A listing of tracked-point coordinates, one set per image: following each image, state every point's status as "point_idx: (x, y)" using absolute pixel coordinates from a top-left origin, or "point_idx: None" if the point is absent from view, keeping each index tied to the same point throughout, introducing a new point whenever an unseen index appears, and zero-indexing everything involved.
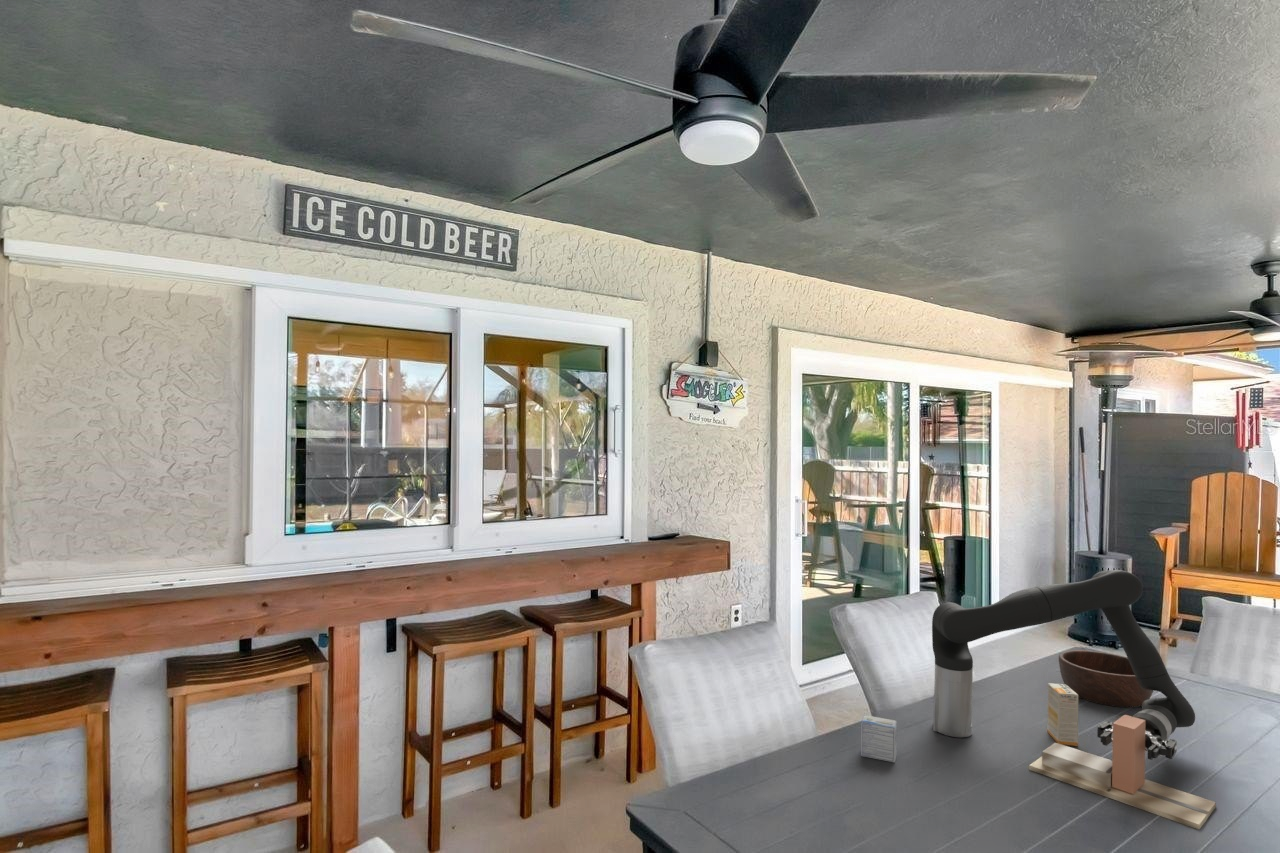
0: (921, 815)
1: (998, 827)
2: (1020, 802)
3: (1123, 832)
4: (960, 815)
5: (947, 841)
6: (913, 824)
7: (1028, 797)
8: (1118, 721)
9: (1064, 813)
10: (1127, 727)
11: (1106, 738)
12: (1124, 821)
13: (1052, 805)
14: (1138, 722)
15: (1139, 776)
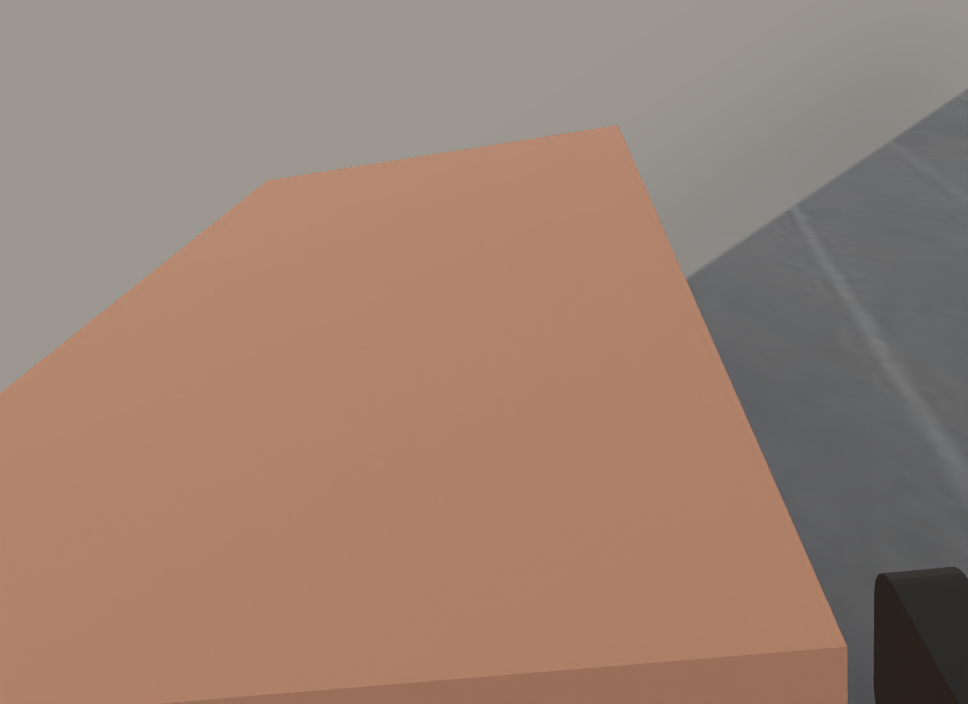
0: (961, 206)
1: (787, 279)
2: (915, 397)
3: None
4: (913, 251)
5: (800, 204)
6: (919, 189)
7: (951, 447)
8: (583, 174)
9: None
10: (374, 167)
11: (884, 613)
12: None
13: (814, 470)
14: (113, 362)
15: None
